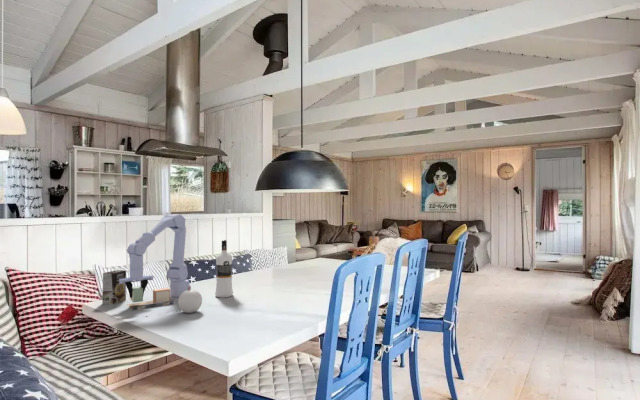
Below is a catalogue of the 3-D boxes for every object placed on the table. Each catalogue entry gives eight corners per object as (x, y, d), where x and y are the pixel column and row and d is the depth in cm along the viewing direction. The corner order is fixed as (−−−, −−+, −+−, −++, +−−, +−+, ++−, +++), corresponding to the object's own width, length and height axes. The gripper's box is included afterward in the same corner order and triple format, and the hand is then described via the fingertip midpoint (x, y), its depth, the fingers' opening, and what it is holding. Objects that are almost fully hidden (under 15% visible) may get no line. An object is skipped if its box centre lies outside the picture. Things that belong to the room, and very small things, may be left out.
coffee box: (113, 306, 185) (113, 273, 185) (101, 306, 186) (102, 272, 186) (126, 302, 194) (126, 270, 194) (115, 301, 195) (115, 269, 195)
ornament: (177, 310, 177) (177, 284, 177) (200, 308, 181) (200, 282, 181) (178, 316, 168) (178, 289, 168) (203, 314, 172) (203, 287, 172)
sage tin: (139, 298, 186) (139, 285, 186) (142, 301, 181) (142, 288, 181) (130, 299, 184) (130, 287, 184) (133, 302, 178) (133, 289, 178)
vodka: (231, 293, 212) (231, 239, 213) (234, 297, 203) (234, 240, 204) (214, 294, 209) (214, 239, 209) (216, 298, 200) (216, 241, 201)
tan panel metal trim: (166, 301, 195) (166, 295, 195) (173, 306, 185) (173, 300, 185) (127, 307, 184) (127, 301, 184) (132, 312, 174) (132, 306, 174)
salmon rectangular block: (152, 302, 189) (153, 289, 189) (167, 299, 193) (167, 287, 193) (155, 303, 185) (155, 291, 186) (170, 301, 190) (170, 289, 190)
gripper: (121, 271, 175) (121, 300, 175) (154, 267, 183) (154, 296, 183) (118, 269, 180) (118, 297, 180) (151, 265, 189) (151, 293, 189)
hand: (136, 296), depth 182 cm, fingers closed on sage tin, 4 cm apart
